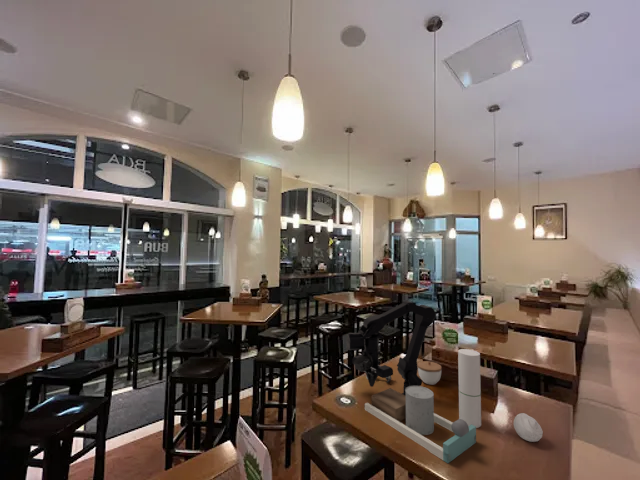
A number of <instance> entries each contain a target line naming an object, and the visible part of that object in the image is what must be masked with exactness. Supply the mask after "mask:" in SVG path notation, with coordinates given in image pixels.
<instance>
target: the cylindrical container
mask: <svg viewBox="0 0 640 480" xmlns="http://www.w3.org/2000/svg"><path fill="white" fill-rule="evenodd" d="M457 355H458V356H457V360H458V361H457V362H458V363H457V365H458V366H457V367H458V368H457V369H458V372H457V373H458V419H462V420H464V421H465V422H466V423H467V424H468V426H469V425H471V424H472V425H474V426H476V429H478V428H480V427H482V402H481V401H482V398H481V397H482V391H481V353H480V352H478V351H476V350H475V349H474V350H473V349H468V348H467V349H466V348H460V349H458V350H457Z"/></svg>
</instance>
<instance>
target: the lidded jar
mask: <svg viewBox="0 0 640 480" xmlns="http://www.w3.org/2000/svg"><path fill="white" fill-rule="evenodd" d="M417 367H418V370H417V374H418V377H419V378H420V379H421V380H422V383H424V384H426V385H437V383H438V382H439V381H440V380H441V376H442V365H440V364H439V363H436V362H434V361H427V360H424V361H422V360H421V361H419V362H417Z"/></svg>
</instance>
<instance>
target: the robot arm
mask: <svg viewBox="0 0 640 480" xmlns="http://www.w3.org/2000/svg"><path fill="white" fill-rule="evenodd" d="M409 313H413V314H415V315H414V319H415V325H414V329H413V332H412V335H411V339H410V342H409V344H408V347H407V351H406V353H405V355H404V356H403V357H399V359H398V363H397V364H396V366H397V371H398V372H397V373H398V374H399V375H400V376H401V378H402V379H403V380H404V381H403V388H402V389H403V392H402V393H401V394H403V395H405V396H406V392H405V389H406V388H407V387H409V386H422V384H423V380H422V379H421V378H420V376H419V375H418V358H419V354H420V352H421V349H422V345H423V342H424V339H425V335H426V332H427V330H428V328H429V327H430V326H431V325H432V324H433V322H434V320H435V318H436V316H437V315H436V314H437V313H436V311H435V309H434V308H433V307H431V306H428V305H425V304H421V305H417V304H415V303H413V302H411V301H408V300H405V301H403V302H402V303H400V304H397V306H395V307H393V308H390V309H389V310H387V311H385V312H383V313H380V314H376V315H371V316H369V317H366V318H364V319H363V322H362V323H363V324H362V326H361V327H360V328H359V330H358V332H348V334H347V336H346V337H347V338H346V340H345V341H346V349H347V351H359V350H361V351H362V352H361V354H359V355H354V356H353V357H352V359H351V360H352V361H351V363H352V365H354V368H355V370H358V371H359V372H361V373H363V372H364V373H365V376H366V375H367V378H368V379H367V378H366V379H367V381H368V383H369V386H370V387H371V388H372V387H374V385H375V383H376V381H377V379H378V377H380V378H382V379H386V377H388V376H391V377H392V376H393V375H394V369H393V368H392V367H391V366H388V365H385V364H384V365H380V364H381V361H380V360H379V355H381V350H379V339H384V336H383V335H382V334H381V333H380V331H382V330H383V329H384V328H385V326H386V325H388V324H389V323H392V322H393V321H395V320H398V318H400V317H403V316H404V315H406V314H409ZM363 349H364V350H363Z"/></svg>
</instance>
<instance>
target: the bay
mask: <svg viewBox="0 0 640 480" xmlns="http://www.w3.org/2000/svg"><path fill="white" fill-rule="evenodd" d="M364 410H365V411H366V412H367V413H369V414H371V415H372V416H374V417H375V418H377V419H379V420H380V421H381V422H383V423H385V424H386V425H388V426H390V427H391V428H393V429H395V430H396V431H397V432H399V433H401V434H402V435H403V436H405V437H406V438H408V439H410V440H412V441H413V442H415V443H416V444H418V445H419V446H421V447H422V448H425V450H427V452H429V453H430V454H432V455H434V456H436V457H437V458H439V459H440V460H442V461H443V462H445V463H446V464H450V463H451V462H452V461H453V460H454V459H456V458H457V457H459V456H460V455H462V454H463V453H464V452H466V451H467V450H469V448H471V447H472V446H473V445H475V444H476V443H477V428H476V426H474V425H472V424H471V425H469V426H468V424H467V423H466V422H465V421H464V420H462V419H459V418H458V419H456V420H455V421H451V420H449V419H446V418H445V417H443V416H442V415H441V416H440V415H439V414H437V413H435V412H434V424H438V425H440V426H441V427H443V428H445V429H447V430H449V431H450V432H452V433H453V434H454V435H453V436H451V437H450V438H448V439H447V440H446V441H444V442H443V443H442V446H440V445H438V444H437V443H435V442H433V440H430V439H429V438H427V437H425V435H420V434H419V433H417V432H415V431H414V430H412V429H410V428H409V427H407V426H406V424H404V423H403V422H401V421H400V422H399V421H397V420H396V419H394V418H392V417H391V416H389V415H387V414H386V413H384V412H382V411H381V410H379V409H377V408H376V407H374V406H372V403H369V402H365V403H364Z"/></svg>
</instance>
